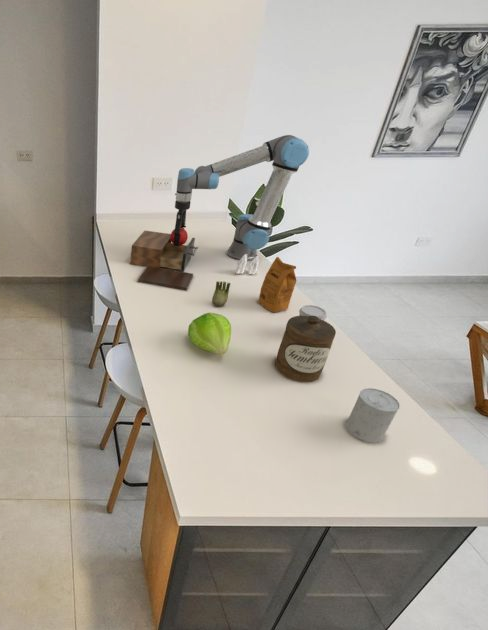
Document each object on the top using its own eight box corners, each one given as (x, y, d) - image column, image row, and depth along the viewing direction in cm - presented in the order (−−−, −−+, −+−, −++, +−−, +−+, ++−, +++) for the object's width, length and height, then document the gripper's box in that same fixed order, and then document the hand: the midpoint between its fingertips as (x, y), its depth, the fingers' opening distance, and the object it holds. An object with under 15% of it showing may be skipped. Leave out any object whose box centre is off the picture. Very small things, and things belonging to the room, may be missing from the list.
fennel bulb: (226, 305, 190) (231, 281, 184) (222, 309, 187) (226, 285, 181) (214, 301, 193) (219, 277, 187) (209, 305, 190) (214, 281, 184)
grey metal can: (338, 419, 129) (352, 389, 123) (368, 417, 130) (383, 387, 123) (359, 444, 121) (375, 412, 115) (391, 441, 122) (408, 410, 115)
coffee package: (272, 298, 195) (284, 254, 184) (290, 311, 185) (304, 265, 173) (253, 300, 193) (264, 256, 182) (271, 314, 183) (283, 268, 171)
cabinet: (170, 252, 243) (172, 234, 237) (159, 269, 224) (161, 249, 218) (143, 248, 249) (144, 230, 243) (130, 264, 230) (131, 245, 224)
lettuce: (198, 364, 153) (204, 333, 146) (180, 334, 171) (185, 305, 164) (238, 361, 155) (246, 331, 148) (217, 331, 172) (223, 302, 165)
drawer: (198, 255, 237) (200, 238, 232) (189, 272, 218) (192, 254, 213) (163, 250, 244) (165, 233, 239) (152, 266, 225) (154, 249, 220)
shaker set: (235, 276, 215) (240, 256, 209) (232, 273, 219) (236, 253, 213) (258, 274, 216) (262, 254, 210) (253, 271, 220) (258, 251, 214)
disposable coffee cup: (316, 332, 171) (325, 306, 164) (320, 345, 163) (329, 318, 157) (290, 328, 173) (298, 302, 167) (293, 340, 166) (301, 314, 159)
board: (192, 276, 216) (193, 273, 215) (186, 290, 202) (186, 287, 202) (147, 268, 224) (147, 266, 224) (138, 282, 211) (138, 279, 210)
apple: (188, 243, 228) (190, 224, 223) (184, 249, 221) (187, 230, 216) (171, 241, 231) (173, 222, 226) (167, 246, 224) (169, 228, 219)
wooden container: (280, 380, 145) (297, 326, 134) (270, 355, 158) (285, 304, 147) (326, 384, 143) (348, 330, 132) (312, 358, 156) (330, 307, 144)
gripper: (180, 194, 224) (175, 234, 235) (170, 205, 207) (166, 248, 218) (194, 195, 221) (189, 236, 232) (186, 207, 204) (181, 250, 216)
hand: (178, 242), depth 225 cm, fingers closed on apple, 9 cm apart
